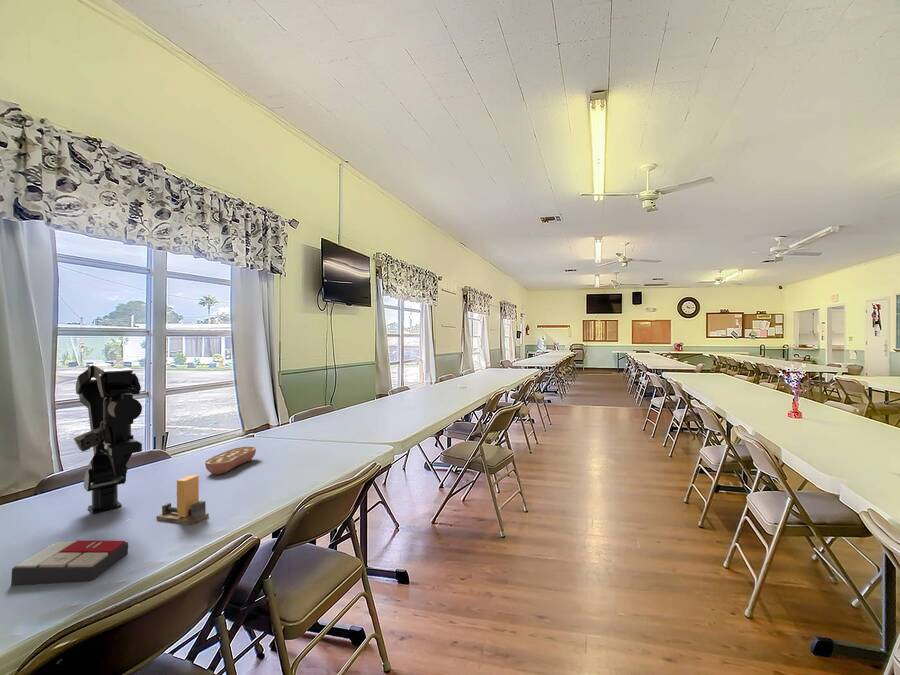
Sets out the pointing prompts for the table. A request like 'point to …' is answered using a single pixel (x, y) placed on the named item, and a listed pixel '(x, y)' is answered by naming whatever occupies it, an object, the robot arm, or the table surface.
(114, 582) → the table surface
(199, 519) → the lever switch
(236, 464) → the brown oval piece
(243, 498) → the table surface
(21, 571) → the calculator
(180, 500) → the orange slab
